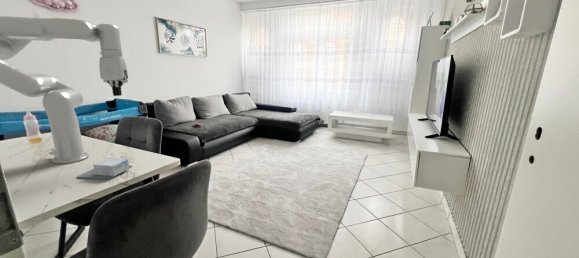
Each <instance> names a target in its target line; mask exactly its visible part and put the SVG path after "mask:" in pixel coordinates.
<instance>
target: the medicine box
mask: <svg viewBox="0 0 579 258" xmlns="http://www.w3.org/2000/svg"><path fill="white" fill-rule="evenodd" d="M92 166H93V169H94V172H95V175H104V176H115V177H116V175H117V176H119V175H120V173H121V174H122V173H124V172H126V171H128V170H130V168H129V159H126V158H117V157H115V158H114V157H108V158H106V159H105V160H102V161H100V162H96V163H94V164H93V165H92ZM118 174H119V175H118Z"/></svg>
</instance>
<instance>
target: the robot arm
mask: <svg viewBox="0 0 579 258" xmlns="http://www.w3.org/2000/svg"><path fill="white" fill-rule="evenodd" d="M55 39H66V40H67V39H68V40H69V39H70V40H82V41H85V42H86V41H87V42H92V43H93V42H94V43H95V42H99V44H100V45H99V47H100V51H99V53H98V54H99V55H101V56H100V57H99V67H98V68H99V76H100V79H101V80H102V82H104V83H107V84H109V86H110V87H111V89H112V95H113V96H114V97H120V96H122V92H123V91H122V87H123V85H124V84H127V83H129V73H128V67H127V63H126V60H125V58H124V57H123V52H122V51H123V50H122V43H121V35H120V29H119V27H118V26H117V25H116V24H112V23H100V24H94V23H90V22H88V21H85V20H82V19H76V18H75V19H74V18H58V17H51V18H50V17H49V18H48V17H46V18H45V17H44V18H43V17H40V18H38V17H23V16H8V15H7V16H6V15H5V16H4V15H2V16H1V15H0V84H2V85H3V86H5V87H7V88H10V89H11V90H14V91H15V92H17V93H19V94H20V95H21V94H22V95H23V96H25V97H29V98H40V97H43V98H42V106H43V108H44V111H45V113H46V116H47V119H48V124H49V128H50V132H51V133H50V134H51V137H52V141H53V146H54V148H53V149H52V150H51V151H49V153H48V154H49V155H51V156H54V157H53V158H52V159H51V162H52V163H54V164H57V165H58V164H71V163H76V162H80V161H83V160H85V159H88V157H90V154H89V153H88V152H85V150H84V146H83V141H82V135H81V129H80V128H81V127H80V123H79V122H80V121H79V119H78V116H77V113H76V111H75V109H76V108H77V109H78V108H79V107H81V105H82V104H83V102H84V96H83V95H82V93H81V92H80V91H79V90H77V89H75V88H73V87H72V86H70V85H68V84H66V83H65V82H63V81H61V80H59V79H57V78H55V77H53V76H50V75H47V74H45V73H31V72H28V71H27V70H26V71H25V70H24V69H21V68H19V67H18V66H16V65H14V64H12V63H10V62H7V61H5V60H9V59H12V58H14V57H15V56H16V55H18V54H19V53H20V52H21V51H22V50H24V48H25V47H27V46H28V45H29V44H30V43H31V42H32V41H43V42H44V41H46V42H51V41H53V40H55Z"/></svg>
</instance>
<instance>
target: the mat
mask: <svg viewBox="0 0 579 258" xmlns="http://www.w3.org/2000/svg"><path fill="white" fill-rule="evenodd" d="M132 167H133V165H129V169H131V168H132ZM120 174H122V173H120ZM120 174H118V175H116V176H119V175H120ZM116 176H104V175H95V172H94V168H92V169H90V170H87V171H86V172H84V173H81V174H79V175H77V176H76V179H85V180H86V179H87V180H103V181H104V180H105V181H106V180H107V181H108V180H109V181H110V180H112V179H113V178H115V177H116Z"/></svg>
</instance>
